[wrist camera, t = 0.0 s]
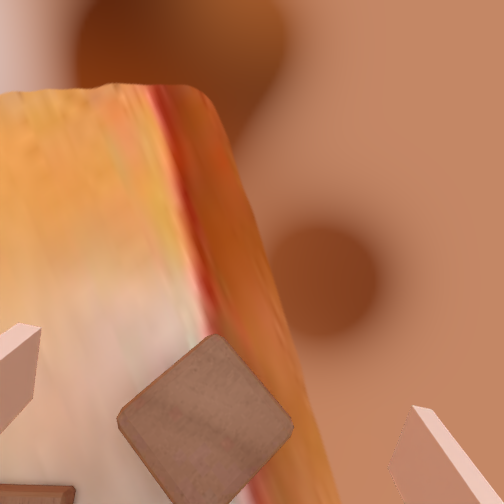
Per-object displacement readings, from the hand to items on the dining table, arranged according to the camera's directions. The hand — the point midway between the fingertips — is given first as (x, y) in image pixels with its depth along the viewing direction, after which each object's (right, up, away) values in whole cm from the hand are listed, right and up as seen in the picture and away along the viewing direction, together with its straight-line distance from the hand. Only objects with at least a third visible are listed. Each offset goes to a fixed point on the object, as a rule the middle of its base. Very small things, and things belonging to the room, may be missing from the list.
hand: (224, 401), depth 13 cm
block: (-5, -15, +33) cm, 36 cm away
